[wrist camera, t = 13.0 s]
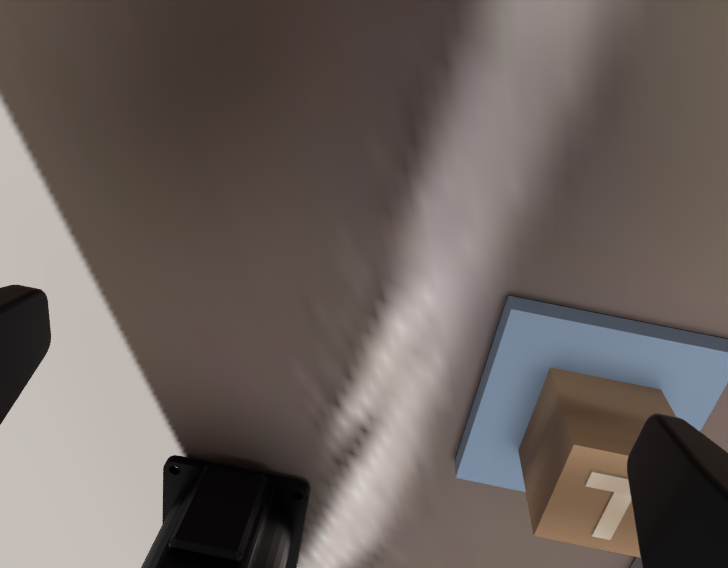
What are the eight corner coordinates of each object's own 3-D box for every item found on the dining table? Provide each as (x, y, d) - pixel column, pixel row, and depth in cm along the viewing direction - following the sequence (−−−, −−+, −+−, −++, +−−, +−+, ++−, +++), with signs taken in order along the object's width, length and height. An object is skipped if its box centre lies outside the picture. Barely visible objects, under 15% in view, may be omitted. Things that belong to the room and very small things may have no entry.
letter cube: (619, 470, 23) (655, 563, 19) (518, 450, 23) (534, 538, 19) (661, 389, 21) (708, 473, 17) (550, 367, 21) (574, 447, 17)
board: (643, 498, 25) (651, 517, 24) (454, 459, 25) (455, 477, 24) (729, 339, 21) (742, 355, 20) (508, 295, 21) (511, 309, 20)
